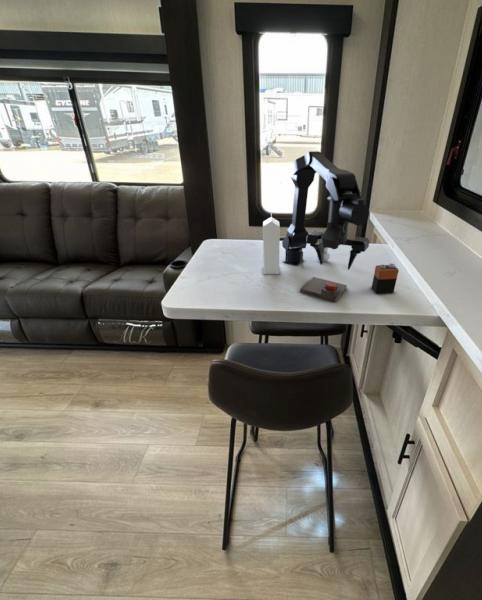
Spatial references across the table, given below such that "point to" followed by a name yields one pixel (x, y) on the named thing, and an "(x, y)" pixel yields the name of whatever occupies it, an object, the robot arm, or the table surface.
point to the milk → (271, 245)
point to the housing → (322, 289)
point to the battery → (385, 278)
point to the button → (331, 285)
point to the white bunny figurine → (325, 255)
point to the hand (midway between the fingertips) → (334, 266)
